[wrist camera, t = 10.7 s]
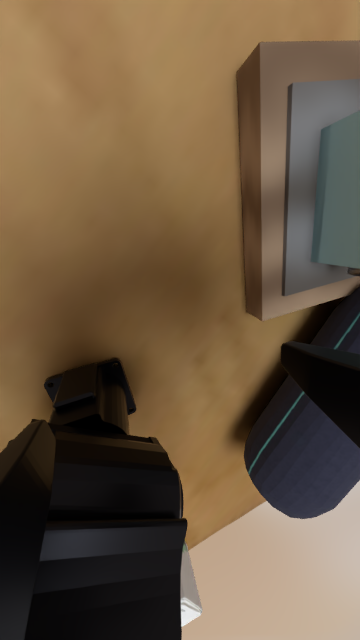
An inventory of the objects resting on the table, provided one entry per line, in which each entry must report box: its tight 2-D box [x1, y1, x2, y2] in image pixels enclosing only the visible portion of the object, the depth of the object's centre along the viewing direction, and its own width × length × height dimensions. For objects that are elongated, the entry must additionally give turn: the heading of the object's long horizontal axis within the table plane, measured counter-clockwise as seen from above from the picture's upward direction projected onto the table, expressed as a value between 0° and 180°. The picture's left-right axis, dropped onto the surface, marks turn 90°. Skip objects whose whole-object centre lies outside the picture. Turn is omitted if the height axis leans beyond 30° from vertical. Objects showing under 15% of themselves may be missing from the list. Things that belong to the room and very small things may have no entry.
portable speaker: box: [244, 287, 360, 519], centre depth 23 cm, size 25×10×10 cm, turn 151°
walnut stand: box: [237, 41, 360, 321], centre depth 19 cm, size 18×15×3 cm
